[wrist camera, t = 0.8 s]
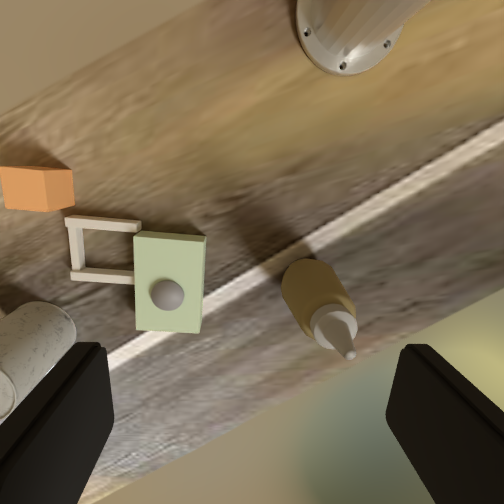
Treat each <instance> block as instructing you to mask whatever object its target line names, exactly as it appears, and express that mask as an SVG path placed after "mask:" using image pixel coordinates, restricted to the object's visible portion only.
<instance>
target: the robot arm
mask: <svg viewBox="0 0 504 504" xmlns="http://www.w3.org/2000/svg"><path fill="white" fill-rule="evenodd" d="M430 1H431V0H297V4H296V27H297V32H298V37H299V39H300V42H301V45H302V47H303V49H304V51H305V52H306V54H307V56H308V57H309V58H310V59H311V60H312V62H313V63H314V64H315V65H317V66H318V67H319V68H321V69H322V70H323V71H326V72H328V73H330V74H333V75H338V76H352V75H356V74H360V73H362V72H364V71H366V70H368V69H370V68H372V67H373V66H375V65H376V64H377V63H379V62H380V61H381V60H382V59H383V58H384V57H385V56H386V55H387V54H388V53H389V52H390V50H391V49H392V48H393V46H394V45H395V43H396V41H397V39H398V38H399V36H400V33H401V31H402V28H403V25H404V23H405V22H406V21H407V20H409V19H410V18H411V17H412V16H413V15H415V14H416V13H417V12H418V11H419V10H421V9H422V8H423V7H424V6H425V5H426V4H428V3H429V2H430ZM304 33H306V34H307V37H306V36H305V35H304ZM383 45H384V46H385V48H384V46H383ZM339 66H341V67H342V70H341V69H340V68H339ZM386 421H387V423H388V425H389V427H390V429H391V431H392V432H393V434H394V436H395V437H396V439H397V441H398V442H399V444H400V445H401V447H402V449H403V450H404V452H405V454H406V455H407V457H408V459H409V460H410V462H411V464H412V465H413V467H414V468H415V470H416V471H417V474H418V475H419V477H420V479H421V480H422V482H423V483H424V485H425V487H426V488H427V490H428V492H429V493H430V495H431V497H432V498H433V500H434V502H435V503H436V504H504V412H503V411H502V410H501V409H500V408H499V407H498V406H497V405H495V404H494V403H493V402H492V401H491V400H490V399H489V398H487V397H486V396H485V395H484V394H483V393H482V392H481V391H479V389H478V388H476V387H475V386H474V385H473V384H472V383H471V382H470V381H469V380H467V379H466V378H465V377H464V376H463V375H462V374H461V373H460V372H459V371H457V370H456V369H455V368H454V367H453V366H452V365H450V363H448V362H447V361H446V360H445V359H444V358H443V357H442V356H441V355H440V354H438V353H437V352H436V351H435V350H434V349H433V348H432V347H431V346H429V345H427V344H407V345H406V347H405V348H404V349H402V350H401V352H400V356H399V360H398V364H397V368H396V373H395V376H394V380H393V385H392V389H391V393H390V397H389V401H388V405H387V409H386ZM113 423H114V410H113V402H112V394H111V385H110V377H109V368H108V360H107V351H106V348H104V347H101V345H100V343H98V342H77V343H75V344H74V345H73V346H72V347H71V349H70V350H69V351H68V352H67V353H66V354H65V355H64V356H63V357H62V358H61V359H60V361H59V362H58V363H57V364H56V365H55V366H54V367H53V368H52V369H51V370H50V371H49V373H48V374H47V375H46V376H45V377H44V378H43V379H42V380H41V381H40V382H39V383H38V385H37V386H36V387H35V388H34V389H33V390H32V391H31V392H30V393H29V394H28V396H27V397H26V398H25V399H24V400H23V401H22V402H21V403H20V404H19V405H18V406H17V408H16V409H15V410H14V411H13V412H12V413H11V414H10V415H9V416H8V417H7V418H6V420H5V421H4V422H3V423H2V424H1V425H0V504H77V503H78V501H79V499H80V497H81V494H82V492H83V490H84V488H85V486H86V484H87V482H88V479H89V477H90V475H91V473H92V471H93V469H94V467H95V465H96V462H97V460H98V458H99V456H100V454H101V452H102V450H103V448H104V445H105V443H106V441H107V439H108V437H109V435H110V433H111V430H112V427H113Z"/></svg>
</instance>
